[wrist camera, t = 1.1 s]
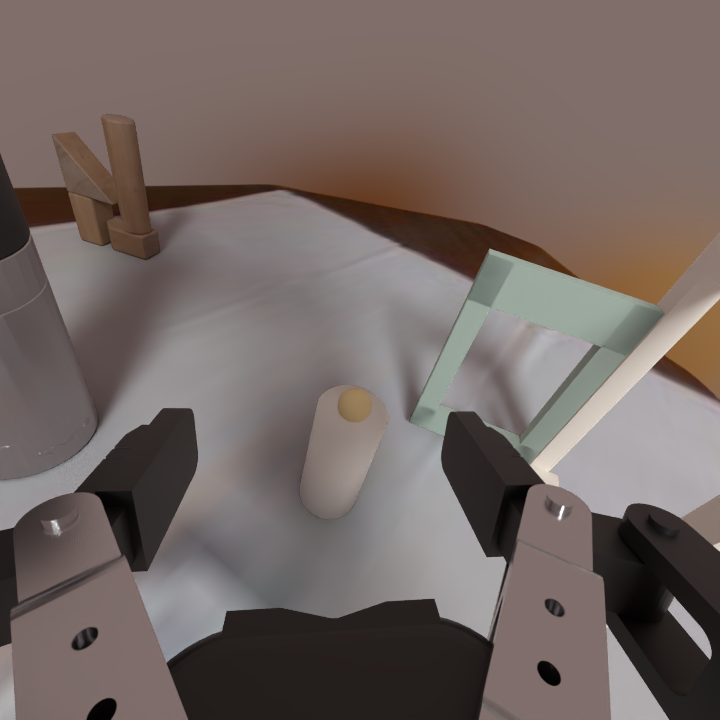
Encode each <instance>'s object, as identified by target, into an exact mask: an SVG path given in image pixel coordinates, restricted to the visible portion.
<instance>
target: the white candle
mask: <svg viewBox="0 0 720 720" xmlns="http://www.w3.org/2000/svg"><path fill="white" fill-rule="evenodd" d="M387 424H388V412H387V409H386V407H385V405H384V403H383V402H382V401H381V400H380V399H379V397H377V396H376V395H375V394H373V393H372V392H370V391H369V390H366V389H364V388H361V387H358V386H353V385H340V386H335V387H332V388H330V389H328V390H327V391H325V392H324V393H323V394H322V395H321V397H320V398H319V400H318V403H317V408H316V412H315V417H314V422H313V426H312V431H311V436H310V441H309V445H308V450H307V455H306V459H305V464H304V469H303V474H302V478H301V483H300V489H299V494H300V499H301V501H302V504H303V505H304V507H305V508H306V509H307V510H308V511H309V512H310V513H311V514H313V515H315V516H316V517H319V518H322V519H337V518H340V517H342V516H344V515H345V514H347V513H348V512H349V511H350V510H351V509H352V507H353V506H354V503H355V501H356V499H357V496H358V494H359V491H360V489H361V487H362V484H363V482H364V479H365V477H366V475H367V472H368V470H369V467H370V465H371V463H372V460H373V458H374V455H375V453H376V451H377V448H378V446H379V443H380V441H381V439H382V436H383V434H384V431H385V429H386V427H387Z"/></svg>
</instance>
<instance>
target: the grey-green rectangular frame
mask: <svg viewBox="0 0 720 720" xmlns="http://www.w3.org/2000/svg"><path fill="white" fill-rule="evenodd" d="M490 308H493V309H496V310H499V311H502V312H505V313H507V314H510V315H513V316H516V317H519V318H521V319H524V320H527V321H530V322H533V323H535V324H538V325H541V326H544V327H547V328H549V329H552V330H555V331H558V332H561V333H563V334H566V335H569V336H572V337H575V338H578V339H580V340H583V341H586V342H589V343H592V344H594V345H593V346H592V347H591V349H590V350H589V351H588V352H587V353H586V355H585V356H584V357H583V358H582V360H581V361H580V362H579V363H578V365H577V366H576V367H575V368H574V370H573V371H572V372H571V373H570V375H569V376H568V377H567V378H566V380H565V381H564V382H563V383H562V384H561V386H560V387H559V388H558V389H557V391H556V392H555V393H554V394H553V396H552V397H551V398H550V399H549V401H548V402H547V403H546V404H545V406H544V407H543V408H542V409H541V410H540V412H539V413H538V414H537V415H536V417H535V418H534V419H533V420H532V422H531V423H530V424H529V425H528V427H527V428H526V429H525V430H524V432H523V433H522V434H521V435H520V436H519V435H517V434H514V433H512V432H509V431H506V430H504V429H501V428H499V427H496V426H494V425H491V424H489V423H486V422H484V421H483V422H484V424H485V425H486V426H487V427H492V428H493V429H495V430H496V431H498V432H499V433H501V434H502V435H504V436H505V437H506V438H507V439H508V441H509V442H510V443H511V444H512V445H513V448H515V449H516V450H517V451H518V452H519V453H520V454H521V457H523V458H524V459H525V460H526V461H527V463H528V464H530V462H531V461H532V460H533V459H534V458H535V457H536V456H537V455H538V454H539V452H540V451H541V450H542V449H543V448H544V447H545V446H546V445H547V444H548V443H549V441H550V440H551V439H552V438H553V437H554V436H555V435H556V434H557V433H558V431H559V430H560V429H561V428H562V427H563V426H564V425H565V424H566V423H567V422H568V420H569V419H570V418H571V417H572V416H573V415H574V414H575V413H576V412H577V410H578V409H579V408H580V407H581V406H582V405H583V404H584V403H585V402H586V400H587V399H588V398H589V397H590V396H591V395H592V394H593V393H594V392H595V391H596V389H597V388H598V387H599V386H600V385H601V384H602V383H603V382H604V381H605V379H606V378H607V377H608V376H609V375H610V374H611V373H612V372H613V371H614V370H615V368H616V367H617V366H618V365H619V364H620V363H621V362H622V361H623V360H624V358H625V357H626V356H627V355H628V354H629V353H630V352H631V351H632V350H633V349H634V347H635V346H636V345H637V344H638V343H639V342H640V341H641V340H642V339H643V337H644V336H645V335H646V334H647V333H648V332H649V331H650V330H651V329H652V328H653V326H654V325H655V324H656V323H657V322H658V321H659V320H660V319H661V318H662V316H663V315H664V314H665V313H664V312H663V310H662V309H661V308H660V306H657V305H654V304H651V303H648V302H645V301H642V300H640V299H637V298H634V297H631V296H628V295H625V294H622V293H619V292H616V291H613V290H610V289H607V288H604V287H601V286H598V285H595V284H592V283H589V282H586V281H583V280H580V279H577V278H574V277H571V276H568V275H565V274H563V273H560V272H557V271H554V270H551V269H548V268H545V267H542V266H539V265H536V264H533V263H530V262H527V261H524V260H521V259H518V258H515V257H512V256H509V255H506V254H503V253H500V252H497V251H494V250H491V249H489V251H488V253H487V255H486V257H485V259H484V261H483V263H482V266H481V268H480V270H479V272H478V274H477V276H476V278H475V281H474V283H473V285H472V287H471V289H470V291H469V293H468V295H467V298H466V300H465V302H464V304H463V306H462V308H461V310H460V312H459V315H458V317H457V319H456V321H455V323H454V325H453V327H452V329H451V332H450V334H449V336H448V338H447V340H446V342H445V344H444V346H443V349H442V351H441V353H440V355H439V357H438V359H437V361H436V363H435V366H434V368H433V370H432V372H431V374H430V376H429V378H428V381H427V383H426V385H425V387H424V389H423V391H422V393H421V395H420V398H419V400H418V402H417V404H416V406H415V408H414V410H413V412H412V415H411V418H410V421H409V422H410V423H413V424H415V425H418V426H420V427H423V428H425V429H428V430H430V431H433V432H435V433H437V434H440V435H442V436H444V435H445V430H446V424H447V419H448V415H449V413H450V412H452V411H455V412H458V411H456V410H453V409H451V408H448V407H445V406H443V405H440V403H441V401H442V399H443V397H444V395H445V393H446V391H447V389H448V388H449V386H450V384H451V382H452V380H453V378H454V376H455V374H456V373H457V371H458V369H459V367H460V365H461V363H462V361H463V359H464V357H465V356H466V354H467V352H468V350H469V348H470V346H471V344H472V342H473V340H474V339H475V337H476V335H477V333H478V331H479V329H480V327H481V325H482V324H483V322H484V320H485V318H486V316H487V314H488V312H489V310H490Z"/></svg>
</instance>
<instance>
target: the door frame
mask: <svg viewBox="0 0 720 720" xmlns="http://www.w3.org/2000/svg"><path fill="white" fill-rule="evenodd" d="M719 299H720V232H719V234H718V235H717V236H716V237H715V238H714V239H713V240H712V242H711V243H710V244H709V245H708V246H707V247H706V249H705V250H704V251H703V252H702V253H701V254H700V255H699V257H698V258H697V259H696V260H695V261H694V262H693V263H692V265H691V266H690V267H689V268H688V269H687V271H685V273H684V274H683V275H682V276H681V277H680V278H679V279H678V281H677V282H676V283H675V284H674V285H673V286H672V288H671V289H670V290H669V291H668V292H667V293H666V295H665V296H664V297H663V298H662V299H661V300H660V301H659V303H658V304H657V306H660V308H661V309H662V310H663V312H664V313H665V314H664V315H663V316H662V318H661V319H660V320H659V321H658V322H657V323H656V324H655V325H654V326H653V328H652V329H651V330H650V331H649V332H648V333H647V334H646V335H645V336H644V337H643V339H642V340H641V341H640V342H639V343H638V344H637V345H636V346H635V347H634V349H633V350H632V351H631V352H630V353H629V354H628V355H627V356H626V357H625V358H624V360H623V361H622V362H621V363H620V364H619V365H618V366H617V367H616V368H615V370H614V371H613V372H612V373H611V374H610V375H609V376H608V377H607V378H606V379H605V381H604V382H603V383H602V384H601V385H600V386H599V387H598V388H597V389H596V391H595V392H594V393H593V394H592V395H591V396H590V397H589V398H588V399H587V400H586V402H585V403H584V404H583V405H582V406H581V407H580V408H579V409H578V410H577V412H576V413H575V414H574V415H573V416H572V417H571V418H570V419H569V420H568V422H567V423H566V424H565V425H564V426H563V427H562V428H561V429H560V430H559V431H558V433H557V434H556V435H555V436H554V437H553V438H552V439H551V440H550V441H549V443H548V444H547V445H546V446H545V447H544V448H543V449H542V450H541V451H540V452H539V454H538V455H537V456H536V457H535V458H534V459H533V460H532V461H531V462H530V464H529V465H530V466H531V467H532V468H533V470H534V471H535V472H536V473H537V474H538V475H539V477H540V478H541V479H542V480H543V481H544V482H545V484H549V485H554V486H557V487H559V482H558V475H555V474H553V473H550V472H549V471H550V470H551V469H552V468H553V467H554V466H555V465H556V464H557V463H558V462H559V461H560V460H561V459H562V458H563V457H564V456H565V455H566V454H567V453H568V452H569V451H570V450H571V449H572V447H573V446H574V445H575V444H576V443H577V442H578V441H579V440H580V439H581V438H582V437H583V436H584V435H585V434H586V433H587V432H588V431H589V430H590V429H591V428H592V427H593V426H594V425H595V424H596V423H597V422H598V421H599V420H600V419H601V418H602V417H603V416H604V415H605V414H606V413H607V412H608V411H609V410H610V409H611V408H612V407H613V406H614V405H615V404H616V403H617V402H618V401H619V400H620V399H621V398H622V397H623V396H624V395H625V394H626V393H627V392H628V391H629V390H630V389H631V388H632V387H633V386H634V385H635V384H636V383H637V382H638V381H639V380H640V379H641V378H642V377H643V376H644V375H645V374H646V373H647V372H648V371H649V370H650V369H651V368H652V367H653V366H654V365H655V364H656V363H657V362H658V361H659V359H660V358H661V357H662V356H663V355H664V354H665V353H666V352H667V351H668V350H669V349H670V348H671V347H672V346H673V345H674V344H675V343H676V342H677V341H678V340H679V339H680V338H681V337H682V336H683V335H684V334H685V333H686V332H687V331H688V330H689V329H690V328H691V327H692V326H693V325H694V324H695V323H696V322H697V321H698V320H699V319H700V318H701V317H702V316H703V315H704V314H705V313H706V312H707V311H708V310H709V309H710V308H711V307H712V306H713V305H714V304H715V303H716V302H717V301H718V300H719ZM680 519H682V520H683V521H685V522H686V523H687V524H689V525H690V526H691V527H692V528H693V529H695V530H696V531H697V532H698V533H699V534H700V535H701V536H703V537H704V538H705V539H706V540H707V541H708V542H709V543H711V544H712V545H713V546H714V547H715V548H716V549H717V550H719V551H720V495H718V496H717V497H715V498H713V499H712V500H710V501H708V502H707V503H705V504H704V505H702V506H700V507H699V508H697V509H695V510H694V511H692V512H690V513H689V514H687V515H685V516H684V517H682V518H680ZM673 599H675V597H674V598H673ZM606 628H608V626H607V624H606Z"/></svg>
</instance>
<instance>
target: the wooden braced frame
mask: <svg viewBox="0 0 720 720" xmlns="http://www.w3.org/2000/svg"><path fill="white" fill-rule="evenodd" d="M101 120H102V125H103V130H104V135H105V140H106V145H107V150H108V155H109V159H110V165H111V169H112V175H113V177H112V176H111V175H110V173H109V172H108V171H107V170H106V168H104V166H103V165H102V164H101V163H100V161H98V159H97V158H96V157H95V155H94V154H93V153H92V152H91V151H90V149H89V148H88V147H87V146H86V145H85V144H84V142H83V141H82V140H81V139H80V138H79V137H78V135H77V134H76V133H75V132H69V133H60V134H53V135H52V138H53V141H54V145H55V148H56V152H57V156H58V159H59V163H60V166H61V170H62V173H63V176H64V180H65V184H66V187H67V190H68V191H70V192H69V197H70V201H71V204H72V208H73V211H74V215H75V218H76V222H77V225H78V229H79V233H80V236H81V239H82V240H85V241H88V242H91V243H94V244H97V245H100V246H103V245H105V244H108V243H110V242H111V244H112V248H113V249H114V250H117V251H120V252H123V253H127V254H130V255H133V256H136V257H139V258H142V259H148V258H150V257H151V256H153V255H155V254H157V253H159V252H160V246H159V239H158V232H157V231H156V230H153V229H151V224H150V218H149V211H148V204H147V198H146V191H145V185H144V178H143V172H142V165H141V159H140V152H139V146H138V139H137V132H136V126H135V122H134V120H132V119H131V118H128V117H125V116H121V115H114V114H105V115H102V116H101ZM115 204H118V205H119V210H120V214H121V219H118V218H114V216H113V211H112V207H111V205H115Z"/></svg>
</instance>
